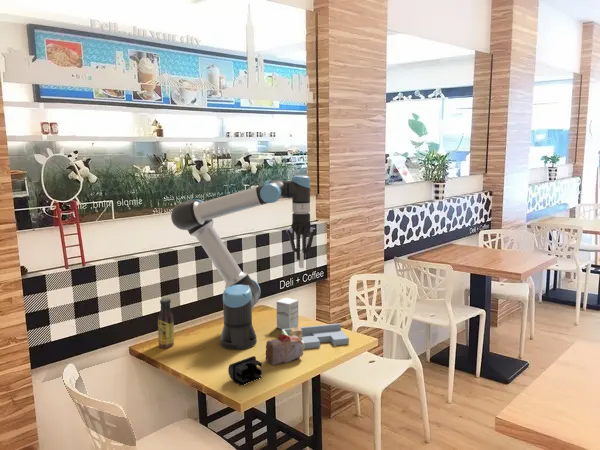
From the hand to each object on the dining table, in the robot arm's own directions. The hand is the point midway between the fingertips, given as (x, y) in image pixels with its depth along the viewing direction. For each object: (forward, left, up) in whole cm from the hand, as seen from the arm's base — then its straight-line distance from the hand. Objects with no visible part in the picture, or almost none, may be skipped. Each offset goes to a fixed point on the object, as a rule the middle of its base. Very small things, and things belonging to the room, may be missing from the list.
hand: (301, 267), depth 215 cm
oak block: (-5, -11, -27) cm, 30 cm away
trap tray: (+3, -11, -30) cm, 32 cm away
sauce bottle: (-57, +2, -30) cm, 65 cm away
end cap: (-30, -36, -30) cm, 56 cm away
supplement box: (-4, +9, -30) cm, 32 cm away
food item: (-13, -24, -30) cm, 41 cm away
